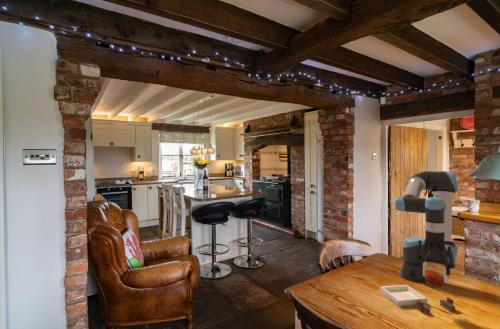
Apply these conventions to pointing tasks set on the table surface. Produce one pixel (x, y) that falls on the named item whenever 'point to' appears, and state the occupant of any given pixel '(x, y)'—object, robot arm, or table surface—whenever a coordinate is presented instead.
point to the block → (443, 303)
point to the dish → (402, 295)
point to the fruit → (434, 278)
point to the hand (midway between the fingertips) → (435, 278)
